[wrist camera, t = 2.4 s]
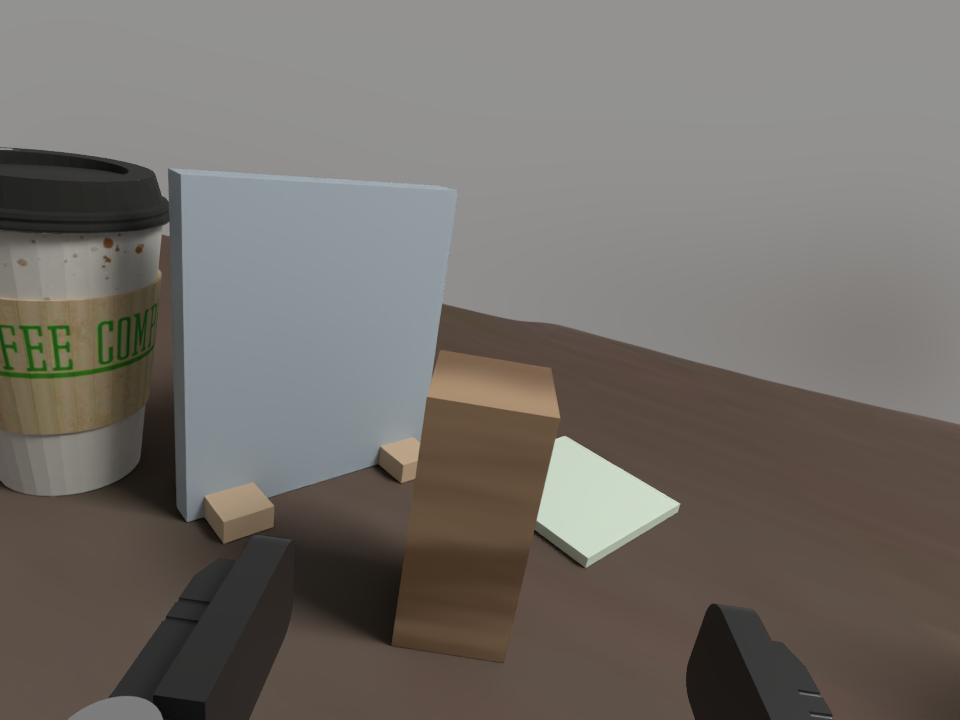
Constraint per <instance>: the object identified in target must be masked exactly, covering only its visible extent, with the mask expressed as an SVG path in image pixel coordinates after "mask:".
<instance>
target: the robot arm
mask: <svg viewBox="0 0 960 720" xmlns="http://www.w3.org/2000/svg"><path fill="white" fill-rule="evenodd" d="M294 567H295V542H294V540H289V539H282V538H275V537H268V536H262V535H254V536H253V537H252V538H251V539H250V540H249V542H248V544H247V545H246V547H245V548H244V550H243V552H242V553H241V555H240V556H239V558H238V560H237V561H235V560H228V559H221V558H219V559H217V560H216V561H214V562H213V563H212V564H210V565H209V566H207V567H206V568H205V569H203V570H202V571H200V572H199V573H197V574H196V575H195V576H194V577H193V579H192V580H191V581H190V583H189V584H188V586H187V587H186V589H185V590H184V591H183V593H182V594H181V596H180V597H179V601H178V602H176V603H175V604H174V606H173V607H172V608H171V610H170V611H169V613H168V614H167V616H166V619H165V621H162V623H161V624H160V626H159V627H158V628H157V630H156V631H155V633H154V634H153V636H152V637H151V638H150V640H149V641H148V643H147V644H146V646H145V647H144V648H143V650H142V651H141V653H140V654H139V656H138V657H137V658H136V660H135V661H134V663H133V664H132V666H131V667H130V668H129V670H128V671H127V673H126V674H125V676H124V677H123V678H122V680H121V681H120V683H119V684H118V686H117V687H116V688H115V690H114V691H113V692H112V694H111V695H110V696H109V697H108V699H105V700H101V701H98V702H96V703H94V704H91V705H89V706H87V707H86V708H84V709H82V710H80V711H79V712H77V713H76V714H74V715H73V716H72V717H70V718H69V719H68V720H249V718H250V716H251V713H252V711H253V709H254V706H255V704H256V702H257V700H258V697H259V695H260V693H261V690H262V688H263V686H264V684H265V681H266V679H267V677H268V674H269V672H270V670H271V668H272V665H273V663H274V661H275V658H276V656H277V654H278V651H279V649H280V647H281V645H282V642H283V640H284V638H285V635H286V632H287V629H288V625H289V621H290V617H291V612H292V604H293V587H294ZM686 686H687V694H688V698H689V702H690V705H691V708H692V711H693V714H694V717H695V720H833V719H832V713H831V711H830V709H829V708H828V706H827V704H826V702H825V701H824V699H823V698H821V697H820V692H819V690H818V688H817V686H816V685H815V683H814V681H813V679H812V677H811V676H810V674H809V672H808V670H807V669H806V667H805V666H804V665H803V664H802V663H801V661H800V660H799V659H798V658H797V657H796V656H795V655H794V654H793V653H792V652H791V651H790V650H789V649H788V648H787V647H786V646H785V645H784V644H783V643H782V642H776V641H772V640H771V638H770V637H769V635H768V633H767V631H766V629H765V627H764V625H763V623H762V621H761V619H760V617H759V616H758V614H757V613H756V612H755V611H754V610H752V609H747V608H741V607H734V606H727V605H720V604H711V605H710V606H709V607H708V609H707V611H706V613H705V616H704V619H703V622H702V625H701V628H700V631H699V633H698V636H697V639H696V642H695V645H694V648H693V650H692V653H691V656H690V659H689V662H688V666H687V673H686Z"/></svg>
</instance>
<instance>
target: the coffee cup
mask: <svg viewBox="0 0 960 720" xmlns="http://www.w3.org/2000/svg"><path fill="white" fill-rule="evenodd" d="M168 222H169V202H168V201H167V199H166V198H164V197H162V195H161V192H160V189H159V185H158V182H157V179H156V176H155V173H154V172H153V171H151V170H150V169H147V168H145V167H142V166H138V165H135V164H131V163H127V162H122V161H117V160H112V159H107V158H100V157H95V156H87V155H80V154H72V153H64V152H54V151H44V150H33V149H19V148H1V147H0V481H1V482H2V483H3V484H4V485H5V486H7V487H8V488H10V489H12V490H14V491H17V492H21V493H24V494H30V495H37V496H61V495H71V494H77V493H83V492H87V491H91V490H95V489H98V488H101V487H104V486H106V485H109V484H111V483H113V482H115V481H117V480H120V479H121V478H123V477H124V476H126V475H127V474H129V473H130V472H131V471H132V470H133V469H134V468H135V467H136V466H137V464H138V462H139V460H140V456H141V446H142V435H143V425H144V414H145V404H146V403H147V401H148V399H149V395H150V386H151V376H152V366H153V356H154V346H155V337H156V327H157V317H158V307H159V297H160V287H161V277H162V274H161V272H160V270H159V269H158V265H159V255H160V245H161V235H162V225H165V224H167V223H168Z"/></svg>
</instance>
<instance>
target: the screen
mask: <svg viewBox="0 0 960 720" xmlns="http://www.w3.org/2000/svg"><path fill="white" fill-rule="evenodd" d="M168 181H169V222H170V262H171V302H172V342H173V382H174V422H175V461H176V501H177V508H178V510H179V511H180V513H181V514H182V516H183V517H184V519H185V520H186V522H190V521H193V520H196V519H200V518H203V517H205V519H206V520H207V521H208V523H209V524H210V525H211V527H212V528H213V530H214V531H215V532H216V534H217V535H218V537H219V538H220V539H221V541H222V542H223V544H225V543H228V542H231V541H234V540H236V539H239V538H242V537H245V536H248V535H251V534H254V533H257V532H260V531H263V530H266V529H269V528H272V527H274V505H273V504H272V503H271V502H270V500H269V499H268V498H269V497H272V496H275V495H278V494H282V493H285V492H288V491H292V490H295V489H298V488H301V487H305V486H308V485H311V484H315V483H318V482H321V481H324V480H328V479H331V478H334V477H338V476H341V475H344V474H347V473H351V472H354V471H357V470H361V469H364V468H367V467H370V466H374V465H377V464H379V465H380V466H381V467H382V468H383V469H385V470H386V471H387V472H388V473H389V474H391V475H392V476H393V477H394V478H395V479H396V480H398V481H399V482H400V483H404V482H407V481H410V480H413V479H415V476H416V469H417V462H418V455H419V448H420V441H421V434H422V427H423V420H424V413H425V406H426V399H427V394H428V391H429V387H430V384H431V377H432V370H433V363H434V356H435V349H436V342H437V335H438V328H439V321H440V314H441V307H442V299H443V292H444V284H445V278H446V271H447V264H448V257H449V250H450V243H451V236H452V229H453V222H454V215H455V208H456V200H457V194H458V191H457V190H453V189H450V188H446V187H443V186H434V185H419V184H403V183H388V182H372V181H357V180H341V179H326V178H311V177H296V176H280V175H265V174H248V173H234V172H218V171H203V170H188V169H173V168H168Z"/></svg>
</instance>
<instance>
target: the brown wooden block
mask: <svg viewBox="0 0 960 720" xmlns="http://www.w3.org/2000/svg"><path fill="white" fill-rule="evenodd" d="M559 422H560V414H559V409H558V404H557V398H556V393H555V387H554V382H553V377H552V371H551V368H547V367H541V366H535V365H528V364H522V363H516V362H510V361H504V360H498V359H492V358H486V357H480V356H474V355H468V354H461V353H455V352H449V351H443V350H440V353H439V356H438V359H437V363H436V366H435V370H434V373H433V377H432V380H431V384H430V387H429V391H428V394H427V399H426V406H425V413H424V420H423V427H422V434H421V441H420V448H419V455H418V462H417V469H416V476H415V483H414V490H413V497H412V504H411V511H410V519H409V526H408V533H407V540H406V547H405V554H404V561H403V568H402V575H401V582H400V589H399V596H398V603H397V610H396V617H395V624H394V631H393V638H392V645H391V646H396V647H403V648H409V649H416V650H422V651H429V652H435V653H442V654H448V655H455V656H461V657H468V658H474V659H481V660H487V661H494V662H500V663H503V662H504V658H505V654H506V649H507V645H508V641H509V637H510V632H511V628H512V624H513V619H514V615H515V611H516V606H517V602H518V598H519V594H520V589H521V585H522V581H523V576H524V572H525V568H526V563H527V559H528V555H529V551H530V546H531V542H532V538H533V533H534V529H535V525H536V520H537V516H538V512H539V508H540V503H541V499H542V495H543V490H544V486H545V482H546V477H547V473H548V469H549V465H550V460H551V456H552V452H553V447H554V443H555V439H556V435H557V430H558V426H559Z"/></svg>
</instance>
